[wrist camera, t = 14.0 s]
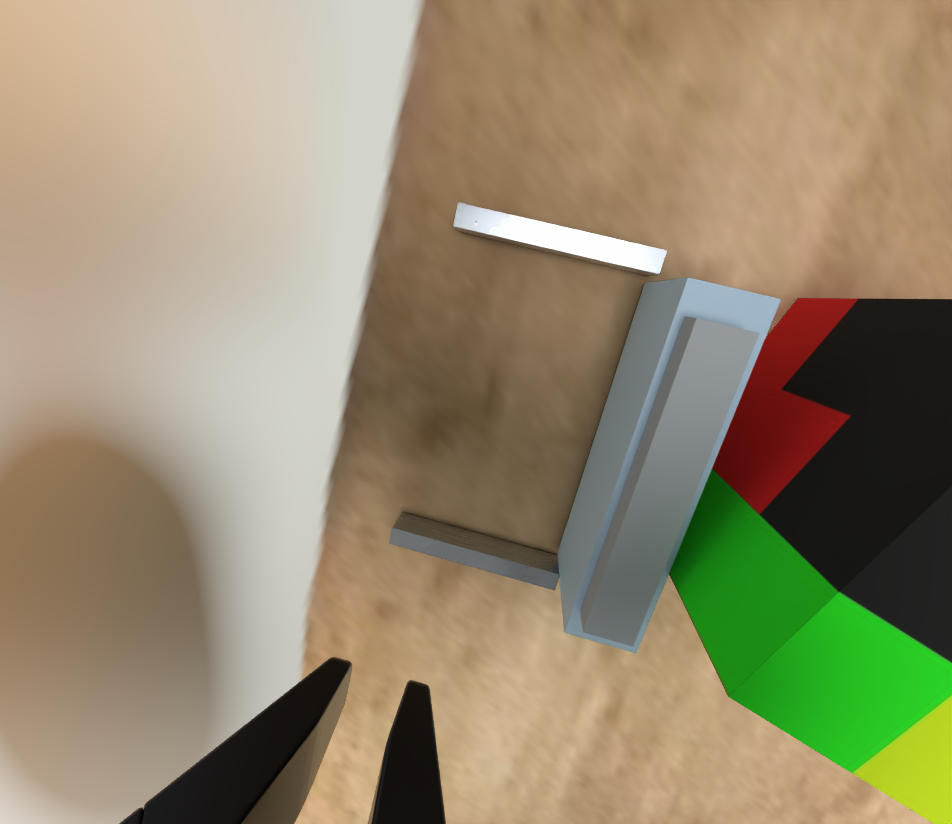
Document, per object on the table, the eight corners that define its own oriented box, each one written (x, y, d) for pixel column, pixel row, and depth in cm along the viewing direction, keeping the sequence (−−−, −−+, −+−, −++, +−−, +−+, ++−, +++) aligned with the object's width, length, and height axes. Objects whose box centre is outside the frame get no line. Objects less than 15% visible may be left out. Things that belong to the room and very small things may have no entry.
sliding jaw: (615, 568, 20) (648, 678, 14) (557, 552, 20) (566, 654, 14) (714, 299, 17) (809, 300, 11) (644, 283, 17) (701, 276, 11)
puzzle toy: (1015, 439, 17) (1639, 625, 7) (822, 618, 20) (1094, 923, 10) (797, 298, 17) (1149, 300, 7) (633, 499, 20) (728, 696, 10)
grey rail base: (942, 679, 20) (1074, 802, 15) (399, 526, 21) (359, 593, 16) (1147, 368, 16) (1414, 399, 11) (464, 210, 17) (437, 176, 13)
